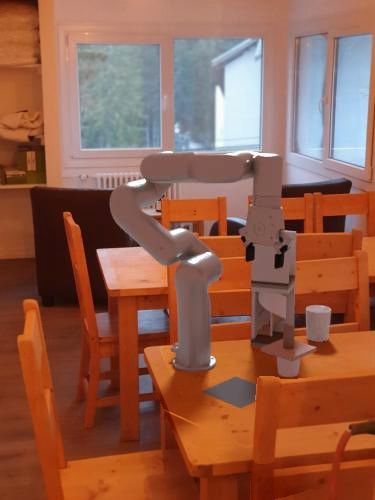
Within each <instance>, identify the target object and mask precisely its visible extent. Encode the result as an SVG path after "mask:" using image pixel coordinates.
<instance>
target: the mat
mask: <svg viewBox="0 0 375 500" xmlns="http://www.w3.org/2000/svg"><path fill="white" fill-rule="evenodd" d="M256 384H257V383H255V382H253V381H250V380H247V379H244V378H242V377H239V376H233V377H231V378H229V379H226V380H223V381H222V382H219V383H217V384H215V385H212V386H210V387H208V388H206V389H204V390H200V393H202V394H204V395H208V396H210V397H212V398H215V399H218V400H220V401H223V402H225V403H227V404H230V405H232V406H235V407H237V408H240V409H242V408H244V407H246V406H248V405H250V404H252V403H255V402H256V401H255V395H256Z"/></svg>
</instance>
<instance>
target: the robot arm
mask: <svg viewBox="0 0 375 500" xmlns="http://www.w3.org/2000/svg"><path fill="white" fill-rule="evenodd" d="M283 167H284V159H283V157H282V156H281V155H280V154H278V153H268V152H266V153H265V152H264V153H259V152H255V151H251V150H240V151H236V152H235V151H234V152H230V153H225V154H224V153H223V154H199V153H198V152H196V151H177V152H176V151H175V152H173V151H170V150H166V151H160V152H159V151H158V152H153V153H151V154H150V153H149V154H148V155H146V156H145V157H143V159H142V160H141V162H140V167H139V172H140V175H141V176H142V177H141V178H139V179H135V180H130V181H126V182H123V183H121V184H119V185H118V186H116V187H115V188H114V189H113V190H112V192H111V194H110V197H109V208H110V214H111V216H112V219H113V220H114V222H115V223H116V224H117V226H119V228H120V229H121V230H123V231H124V232H125V233H126V234H127V235H128V236H129V237H131V238H132V239H133V240H134V241H135V242H136V243H137V244H138V245H139V246H140V247H141V248H142V249H143V250H144V251H145V252H147V253H148V255H150V256H151V258H153V259H154V260H155V261H156V262H157V263H158V264H160V265H161V266H164V267H169V266H170V267H171V266H173V265H175V264H178V263H180V264H179V265H178V266H177V267H176V269H175V271H174V276H173V281H174V288H175V294H176V306H177V309H176V310H177V311H176V312H177V342H175V343H173V346H171V347H170V351H171V352H172V353H175V357H174V358H173V359H172V365H173V367H174V368H175V369H177V370H179V371H182V372H189V373H191V372H193V373H196V372H197V373H198V372H205V371H208V370H212V369H213V368H215V367H216V365H217V360H216V358H215V357H214V356H213V355H212V352H211V351H212V348H211V347H212V346H211V345H212V344H211V343H212V341H211V340H212V339H211V338H212V334H211V333H212V332H211V331H212V329H211V326H212V320H211V319H212V314H211V311H212V310H211V299H210V295H209V291H208V288H209V286H211V285H212V284H214V283H216V282H217V281H218V280H220V278H221V277H222V276H223V272H224V271H223V269H224V268H223V262H222V261H221V259H220V258H219V256H217V254H216V253H215V252H214V251H213V250H212V249H211V248H210V247H209V246H207V244H205V243H204V242H203V241H202V240H201V239H200V238H199V237H197V236H196V235H195V233H193V232H192V231H190V230H188V229H185V228H181V227H178V228H172V229H171V230H168V229H167V228H166V227H164V226H163V225H162V224H161V223H160V222H159V221H158V220H157V219H156V218H154V217H153V216H152V215H150V214H148V213H146V212H145V211H143V210H142V209H145V208H149V207H151V206H153V205H155V204H156V203H158V201H160V199H161V198H162V197H163V196H164V195H165V194H166V193H167V191H168V190H169V189H170V188H171V187H172V186H173V184H233V183H238V182H241V181H243V180H248V179H252V194H250V195H249V199H250V200H252V201H251V202H252V203H251V204H250V205H249V208H248V210H247V215H246V223H245V226H243V227H241V228H239V229H238V233H239V236H240V240H241V242H242V243H243V248H245V253H244V254H245V256H244V257H245V259H244V260H245V262H246V263H248V262H251V261H253V260H254V259H255V246H253V244H254V243H255V244H260V245H265V246H273V247H274V249H275V251H276V252H277V254H275V260H274V268H275V269H278V268H282V267H283V264H284V253H286V252H287V250H288V249H289V248H290V246H291V244H292V242H293V238H292V237H290V236H289V235H288V234H287V233H286V232H284V231H285V215H284V209H283V207H282V193H283V192H282V190H283V172H284V171H283ZM284 240H285V245H283V242H284ZM279 247H280V248H279Z"/></svg>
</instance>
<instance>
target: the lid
mask: <svg viewBox="0 0 375 500" xmlns="http://www.w3.org/2000/svg"><path fill="white" fill-rule="evenodd" d="M295 327H296V325H295V323H294V324H284V332H283V339H281V340H278V341H276V342H273V343H271V344H269V345H266V346H264V347H260V352H262V353H266V354H268V355H271V356H275V357H276V358H277V357H280V358H283V359H286V360H289V361H295V360H297V359H299V358H300V359H301V358H303V357H306V356H308V355H310V354H312V353H315V352H316V351H317V350H318V349H317V346H314V345H310V344H306V343H303V342H300V341H296V340H295V330H296V329H295Z"/></svg>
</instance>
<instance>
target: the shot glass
mask: <svg viewBox="0 0 375 500" xmlns="http://www.w3.org/2000/svg"><path fill="white" fill-rule="evenodd" d="M300 363H301V358H299V359H297V360H295V361H289V360H286V359H283V358H280V357H277V356H276V366H277V374H278V375H279V376H281V377H285V378H293V377H297V376H298V375H299V373H300Z"/></svg>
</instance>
